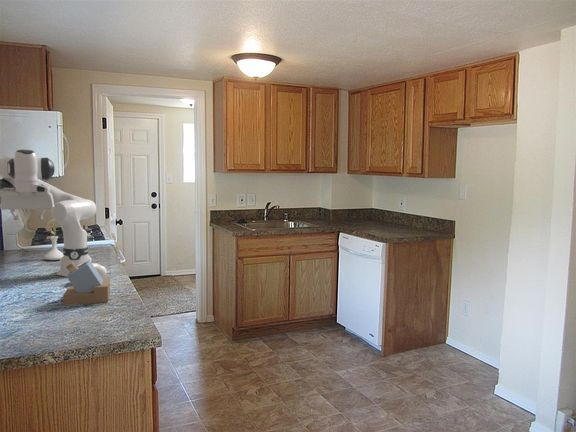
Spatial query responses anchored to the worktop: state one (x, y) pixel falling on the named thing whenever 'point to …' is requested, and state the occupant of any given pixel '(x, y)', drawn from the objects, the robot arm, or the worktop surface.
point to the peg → (72, 267)
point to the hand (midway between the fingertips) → (28, 219)
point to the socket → (86, 286)
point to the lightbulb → (101, 271)
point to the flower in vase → (53, 244)
